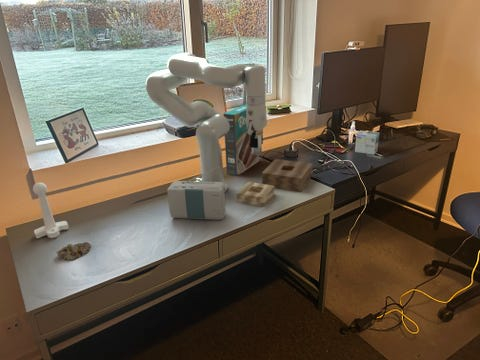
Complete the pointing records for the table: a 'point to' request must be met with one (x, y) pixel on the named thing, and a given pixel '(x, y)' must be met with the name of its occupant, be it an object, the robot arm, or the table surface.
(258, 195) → the stand
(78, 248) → the mineral rock
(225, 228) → the table surface
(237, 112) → the cake mix box
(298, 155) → the table surface
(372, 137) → the light bulb box
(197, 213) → the stereo radio cassette player
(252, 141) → the robot arm
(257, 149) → the orange capped bottle
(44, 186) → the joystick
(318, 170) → the hacksaw
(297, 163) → the block
